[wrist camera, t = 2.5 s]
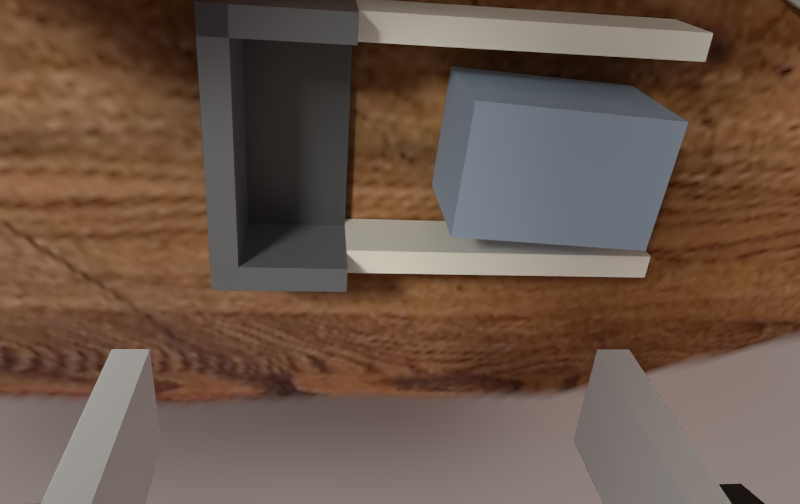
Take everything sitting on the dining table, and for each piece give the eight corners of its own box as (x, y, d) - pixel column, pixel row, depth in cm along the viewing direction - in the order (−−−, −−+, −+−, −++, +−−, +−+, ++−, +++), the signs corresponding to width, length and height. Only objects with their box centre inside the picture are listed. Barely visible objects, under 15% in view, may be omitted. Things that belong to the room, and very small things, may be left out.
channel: (343, 239, 35) (345, 272, 32) (353, -3, 30) (357, 10, 27) (617, 245, 37) (644, 277, 34) (675, 19, 32) (713, 33, 28)
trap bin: (225, 239, 35) (211, 290, 30) (213, -16, 29) (193, 1, 24) (343, 242, 35) (346, 292, 31) (354, -6, 30) (359, 12, 25)
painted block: (431, 183, 34) (450, 237, 29) (450, 65, 32) (475, 100, 26) (598, 197, 36) (645, 250, 30) (630, 85, 33) (688, 122, 28)
